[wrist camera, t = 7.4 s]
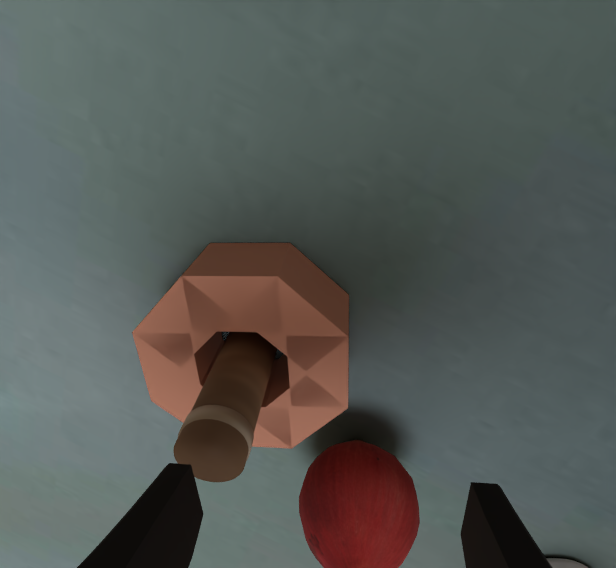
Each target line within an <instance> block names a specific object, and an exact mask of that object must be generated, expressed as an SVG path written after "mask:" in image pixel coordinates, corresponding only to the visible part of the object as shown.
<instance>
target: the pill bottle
mask: <svg viewBox="0 0 616 568" xmlns="http://www.w3.org/2000/svg"><path fill="white" fill-rule="evenodd" d="M546 559H547V561H548V562H549V563H550V565H551V566H552V568H588V567H586V566H585V565H583V564H581V563H579V562H576V561H573V560H569V559H561V558H546Z"/></svg>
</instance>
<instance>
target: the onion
mask: <svg viewBox="0 0 616 568" xmlns="http://www.w3.org/2000/svg"><path fill="white" fill-rule="evenodd" d="M299 513H300V517H301V521H302V525H303V530H304V534H305V538H306V541H307V543H308V545H309V548H310V550H311V551H312V553H313V554H314V556H315V557H316V559H317V560H318V561H319V562H320V564H321V565H322V566H323V567H324V568H398V567H399V566H400V565H401V564H402V563H403V561H404V560H405V558H406V556H407V555H408V553H409V551H410V549H411V547H412V545H413V542H414V540H415V538H416V536H417V532H418V527H419V523H420V521H419V506H418V500H417V495H416V491H415V487H414V483H413V480H412V477H411V476H410V475H409V474H408V472H407V471H406V470H405V469H404V467H403V466H402V465H401V463H400V462H399V461H398V460H397V458H396V457H395V456H394V455H392V454H390V453H388V452H387V451H385V450H383V449H381V448H379V447H378V446H376V445H373V444H369V443H366V442H364V441H362V440H353V441H348V442H343V443H338V444H335V445H333V446H331V447H329V448H327V449H326V450H325V451H324V452H322V453H321V454H320V455H319V456H318V457H317V458H316V459H315V460H314V462H313V463H312V464H311V466H310V467H309V468H308V471H307V474H306V476H305V479H304V482H303V486H302V489H301V492H300V496H299Z"/></svg>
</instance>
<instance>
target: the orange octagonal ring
mask: <svg viewBox="0 0 616 568" xmlns="http://www.w3.org/2000/svg"><path fill="white" fill-rule="evenodd" d="M221 332H257V333H258V334H260V335H261V336H262V337H264V338H265V339H266V340H267V341H269V342H270V343H271V344H272V345H274V346H275V347H276V348H277V349H279V350H280V351H281V352H282V353H284V355H283V356H282V357H280V358H279V359H274V362H273V366H272V369H271V373H270V377H269V380H268V384H267V387H266V391H265V395H264V398H263V402H262V405H261V409H260V413H259V416H258V420H257V424H256V427H255V431H254V439H253V443H252V446H254V447H274V448H293V447H294V446H296V445H297V444H299V443H300V442H301V441H303V440H304V439H306V438H307V437H308V436H310V435H311V434H313V433H314V432H315V431H317V430H318V429H320V428H321V427H322V426H324V425H325V424H327V423H328V422H329V421H331V420H332V419H334V418H335V417H336V416H338V415H339V414H341V413H342V412H343V411H345V410H346V409H348V377H349V295H348V294H347V293H346V292H345V291H344V290H343V289H342V288H341V287H339V286H338V285H337V284H336V283H335V282H334V281H333V280H332V279H330V278H329V277H328V276H327V275H326V274H325V273H324V272H323V271H321V270H320V269H319V268H318V267H317V266H316V265H315V264H314V263H312V262H311V261H310V260H309V259H308V258H307V257H306V256H305V255H303V254H302V253H301V252H300V251H299V250H298V249H297V248H296V247H294V246H293V245H292V244H291V243H209V245H208V246H207V247H206V248H205V249H204V250H203V251H202V253H201V254H200V255H199V256H198V257H197V258H196V260H195V261H194V262H193V263H192V264H191V265H190V266H189V268H188V269H187V270H186V271H185V272H184V273H183V275H182V276H181V277H180V278H179V279H178V280H177V281H176V283H175V284H174V285H173V286H172V287H171V288H170V289H169V291H168V292H167V293H166V294H165V295H164V296H163V297H162V299H161V300H160V301H159V302H158V303H157V304H156V305H155V307H154V308H153V309H152V310H151V311H150V312H149V314H148V315H147V316H146V317H145V318H144V319H143V320H142V322H141V323H140V324H139V325H138V326H137V327H136V329H135V330H134V331H133V332H132V333H133V337H134V341H135V344H136V348H137V351H138V355H139V359H140V362H141V366H142V369H143V373H144V377H145V380H146V384H147V387H148V391H149V395H150V398H151V401H152V402H154V403H155V404H157V405H158V406H160V407H161V408H163V409H164V410H166V411H167V412H168V413H170V414H171V415H173V416H174V417H176V418H177V419H179V420H180V421H182V422H183V423H184V421H185V419H186V417H187V416H188V414H189V413H190V412H191V410H192V408H193V406H194V404H195V402H196V400H197V398H198V396H199V394H200V391H201V389H202V387H203V385H204V383H205V381H206V379H207V377H208V375H209V373H210V371H211V369H212V367H213V365H214V363H215V361H216V358H217V356H218V354H219V352H220V350H221V348H222V346H223V344H224V342H225V341H224V340H223V339H222V333H221Z"/></svg>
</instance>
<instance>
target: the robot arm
mask: <svg viewBox="0 0 616 568" xmlns="http://www.w3.org/2000/svg"><path fill="white" fill-rule="evenodd" d="M202 517H203V510H202V506H201V502H200V498H199V494H198V490H197V486H196V482H195V478H194V474H193V470H192V466H191V465H190V464H174V463H169V464H168V465H167V466H166V467H165V468H164V469H163V471H162V472H161V473H160V474H159V475H158V477H157V478H156V479H155V480H154V481H153V483H152V484H151V485H150V486H149V487H148V489H147V490H146V491H145V492H144V493H143V495H142V496H141V497H140V498H139V499H138V500H137V502H136V503H135V504H134V505H133V506H132V508H131V509H130V510H129V511H128V512H127V513H126V515H125V516H124V517H123V518H122V519H121V520H120V521H119V522H118V524H117V525H116V526H115V527H114V528H113V529H112V530H111V531H110V533H109V534H108V535H107V536H106V537H105V538H104V539H103V540H102V542H101V543H100V544H99V545H98V546H97V547H96V548H95V549H94V550H93V551H92V552H91V554H90V555H89V556H88V557H87V558H86V559H85V560H84V561H83V562H82V563H81V564H80V565H79V566H78V567H77V568H188V567H189V564H190V561H191V559H192V556H193V552H194V548H195V545H196V541H197V537H198V533H199V529H200V525H201V521H202ZM461 539H462V545H463V552H464V558H465V564H466V568H552V566H551V565H550V563H549V562H548V561H547V559H546V558H545V556H544V555H543V553H542V552H541V550H540V549H539V547H538V546H537V544H536V543H535V541H534V540H533V538H532V537H531V535H530V534H529V532H528V531H527V529H526V528H525V526H524V524H523V523H522V521H521V520H520V518H519V517H518V515H517V513H516V512H515V510H514V509H513V507H512V505H511V504H510V502H509V500H508V499H507V497H506V495H505V494H504V492H503V490H502V489H501V487H500V486H499V485H498V484H489V483H473V482H471V486H470V490H469V495H468V500H467V505H466V510H465V515H464V520H463V525H462V530H461Z"/></svg>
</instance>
